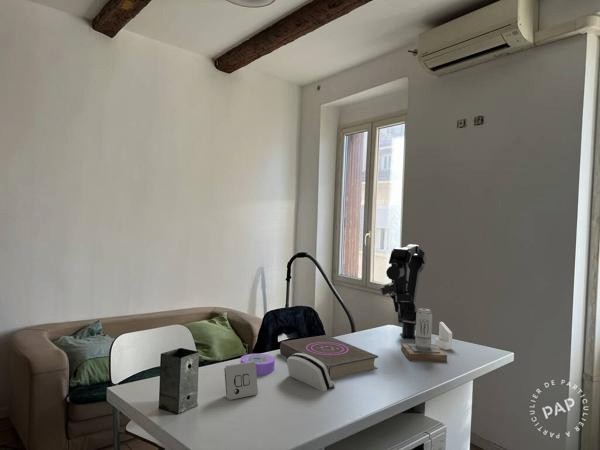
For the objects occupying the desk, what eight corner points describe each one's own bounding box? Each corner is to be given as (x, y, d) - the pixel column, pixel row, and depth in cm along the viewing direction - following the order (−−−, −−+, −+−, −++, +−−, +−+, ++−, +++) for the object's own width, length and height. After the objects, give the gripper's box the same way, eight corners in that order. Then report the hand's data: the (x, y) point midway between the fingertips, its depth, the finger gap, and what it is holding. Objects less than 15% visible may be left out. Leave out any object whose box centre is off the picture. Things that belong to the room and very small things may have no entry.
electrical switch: (228, 401, 120) (228, 367, 121) (221, 396, 125) (221, 363, 125) (258, 395, 125) (258, 362, 126) (251, 390, 129) (250, 359, 130)
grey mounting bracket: (336, 387, 133) (329, 359, 130) (325, 396, 130) (318, 367, 127) (300, 372, 145) (293, 346, 143) (289, 379, 142) (283, 353, 140)
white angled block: (434, 336, 188) (442, 321, 184) (448, 353, 180) (457, 338, 176) (428, 337, 186) (436, 322, 182) (442, 354, 178) (450, 339, 174)
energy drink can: (415, 349, 166) (417, 310, 166) (414, 344, 172) (415, 307, 172) (432, 350, 165) (433, 311, 165) (429, 345, 171) (431, 308, 171)
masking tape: (263, 361, 155) (263, 351, 155) (280, 371, 145) (281, 360, 145) (234, 367, 148) (234, 356, 148) (250, 378, 139) (251, 366, 139)
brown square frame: (401, 349, 176) (401, 341, 176) (435, 350, 175) (435, 343, 175) (409, 360, 162) (410, 352, 162) (446, 361, 161) (447, 353, 161)
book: (377, 369, 151) (378, 355, 151) (327, 381, 139) (327, 365, 139) (326, 346, 177) (326, 334, 177) (279, 354, 165) (279, 341, 165)
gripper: (377, 274, 191) (376, 309, 191) (385, 280, 172) (384, 318, 172) (402, 275, 191) (401, 310, 191) (413, 281, 172) (411, 319, 172)
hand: (398, 314), depth 181 cm, fingers open, 9 cm apart
